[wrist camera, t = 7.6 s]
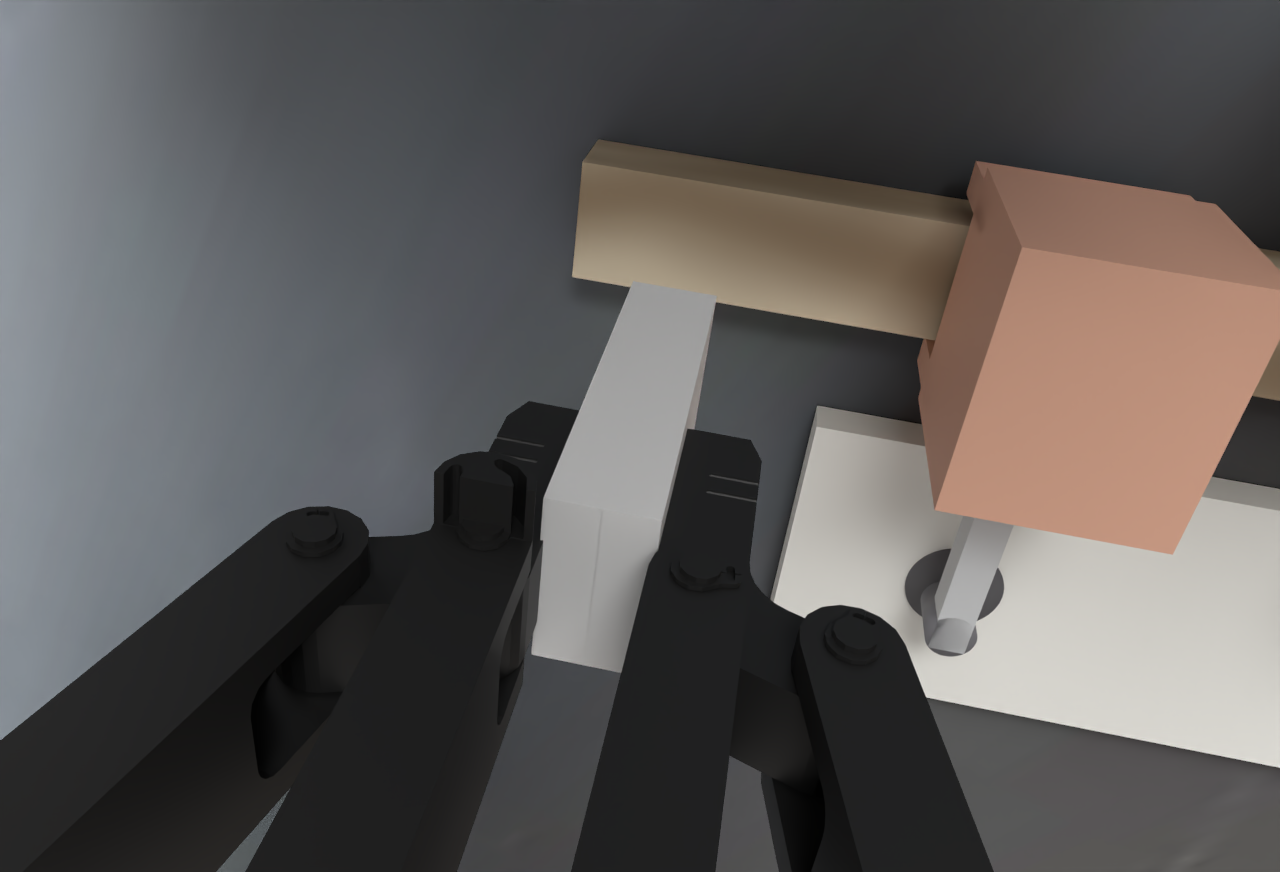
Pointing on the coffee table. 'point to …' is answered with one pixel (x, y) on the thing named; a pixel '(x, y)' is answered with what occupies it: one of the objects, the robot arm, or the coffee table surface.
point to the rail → (779, 240)
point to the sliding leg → (1084, 371)
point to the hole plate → (1053, 599)
